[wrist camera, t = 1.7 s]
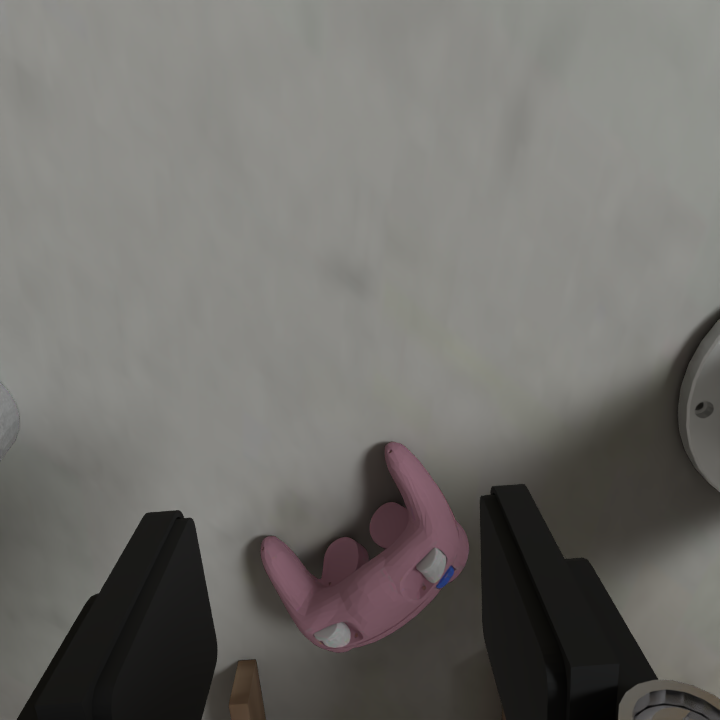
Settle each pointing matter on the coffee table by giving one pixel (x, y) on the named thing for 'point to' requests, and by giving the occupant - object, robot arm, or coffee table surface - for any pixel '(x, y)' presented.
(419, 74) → the coffee table surface
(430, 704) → the coffee table surface
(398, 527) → the video game controller
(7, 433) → the house plant
